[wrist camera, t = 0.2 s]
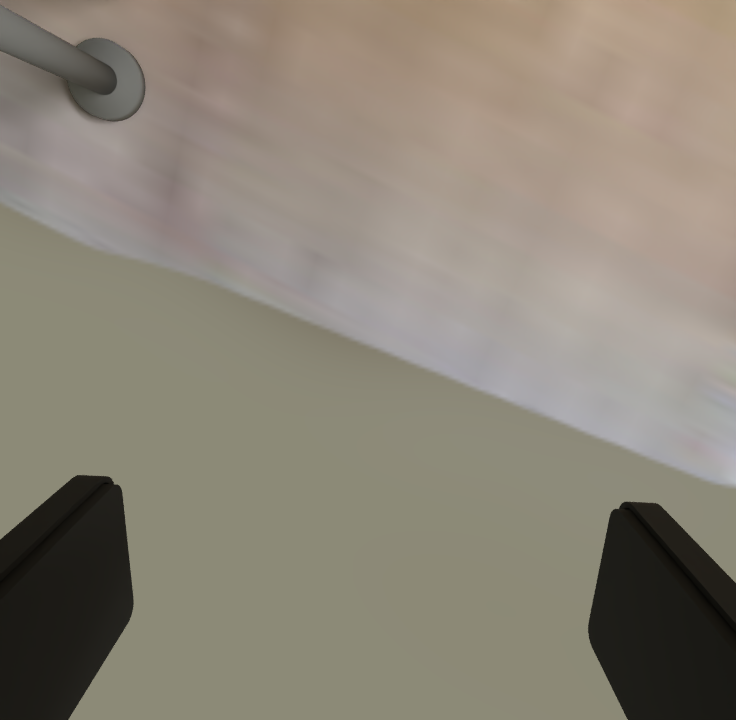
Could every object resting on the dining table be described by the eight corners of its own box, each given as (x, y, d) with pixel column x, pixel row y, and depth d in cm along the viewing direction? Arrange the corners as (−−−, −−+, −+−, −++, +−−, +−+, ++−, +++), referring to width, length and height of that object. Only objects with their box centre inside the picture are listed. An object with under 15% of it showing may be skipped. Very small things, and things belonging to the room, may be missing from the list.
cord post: (70, 41, 35) (-146, -83, 21) (142, 44, 35) (-25, -77, 21) (78, 119, 36) (-120, 55, 22) (147, 122, 36) (-5, 61, 22)
